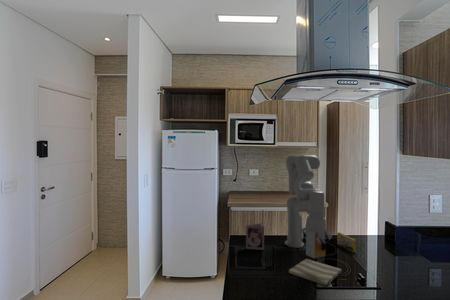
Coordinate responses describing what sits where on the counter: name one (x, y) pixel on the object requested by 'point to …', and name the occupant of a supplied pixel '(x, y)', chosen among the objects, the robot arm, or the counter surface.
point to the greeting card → (255, 236)
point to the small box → (314, 245)
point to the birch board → (315, 271)
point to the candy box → (346, 242)
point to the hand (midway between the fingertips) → (315, 247)
